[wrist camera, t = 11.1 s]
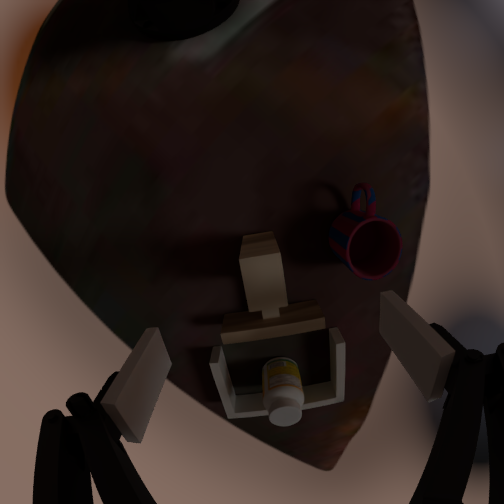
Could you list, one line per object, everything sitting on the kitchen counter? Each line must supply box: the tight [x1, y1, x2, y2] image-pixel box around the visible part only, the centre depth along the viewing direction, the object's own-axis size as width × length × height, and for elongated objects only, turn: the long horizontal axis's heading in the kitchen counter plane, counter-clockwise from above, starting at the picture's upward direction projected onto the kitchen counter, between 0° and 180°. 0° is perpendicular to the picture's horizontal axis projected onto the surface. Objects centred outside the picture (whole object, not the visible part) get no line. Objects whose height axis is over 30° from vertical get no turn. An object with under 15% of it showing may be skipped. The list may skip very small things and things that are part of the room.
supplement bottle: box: [262, 357, 304, 426], centre depth 33 cm, size 5×5×10 cm
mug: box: [329, 183, 402, 280], centre depth 29 cm, size 7×10×7 cm
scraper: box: [221, 231, 325, 344], centre depth 29 cm, size 11×12×10 cm
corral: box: [209, 327, 345, 419], centre depth 36 cm, size 11×17×4 cm, turn 100°
